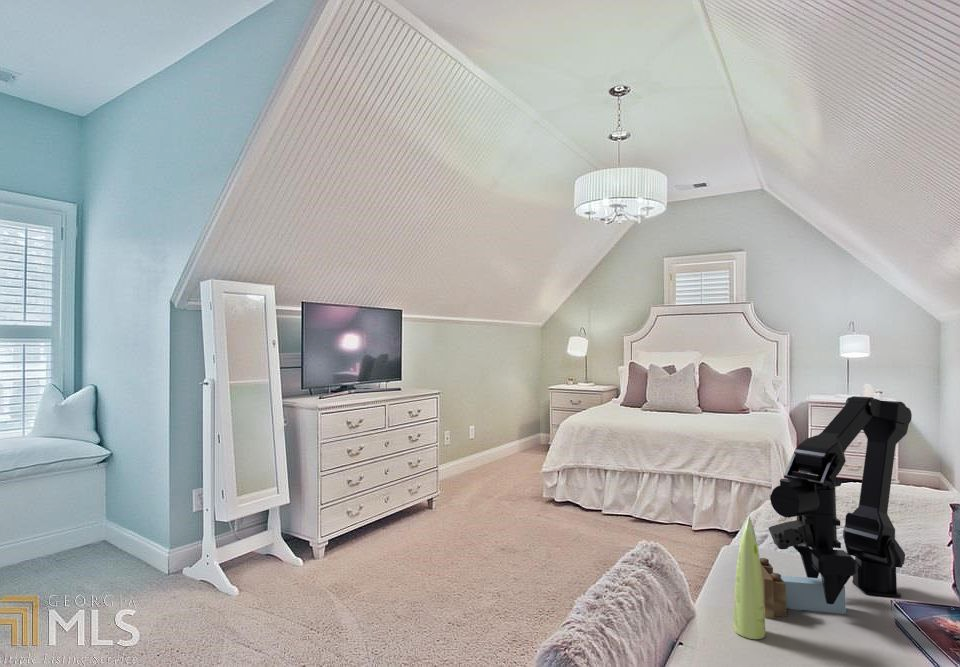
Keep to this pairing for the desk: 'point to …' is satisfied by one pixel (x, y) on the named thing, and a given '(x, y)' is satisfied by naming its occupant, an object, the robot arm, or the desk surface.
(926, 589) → the desk surface
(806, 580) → the light blue rectangular block
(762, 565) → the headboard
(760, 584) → the tube
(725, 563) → the desk surface
